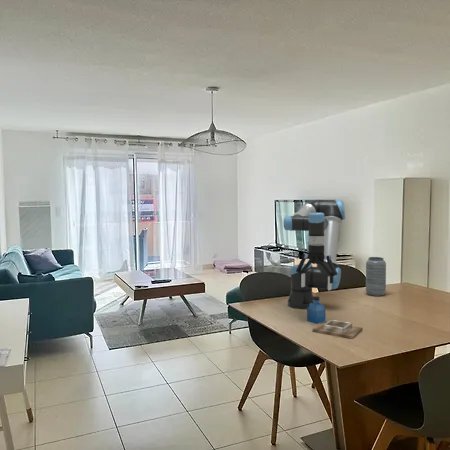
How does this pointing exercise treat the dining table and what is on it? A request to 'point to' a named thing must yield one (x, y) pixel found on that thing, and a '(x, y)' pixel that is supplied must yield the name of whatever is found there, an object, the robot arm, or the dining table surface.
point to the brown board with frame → (338, 329)
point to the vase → (375, 276)
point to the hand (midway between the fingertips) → (316, 288)
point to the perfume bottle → (316, 311)
